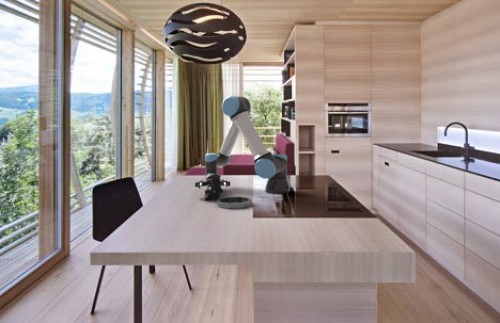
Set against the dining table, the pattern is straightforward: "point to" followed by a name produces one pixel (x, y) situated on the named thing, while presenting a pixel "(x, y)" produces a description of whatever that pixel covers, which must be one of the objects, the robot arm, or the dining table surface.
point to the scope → (214, 188)
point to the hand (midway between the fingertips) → (213, 186)
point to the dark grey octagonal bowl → (234, 202)
